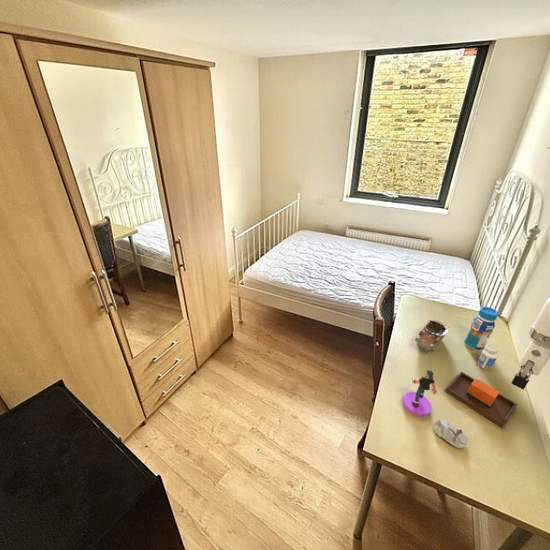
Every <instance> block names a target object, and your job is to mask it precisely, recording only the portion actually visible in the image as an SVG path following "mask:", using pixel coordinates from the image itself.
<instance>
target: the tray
mask: <svg viewBox="0 0 550 550" xmlns="http://www.w3.org/2000/svg"><path fill="white" fill-rule="evenodd" d="M475 379H476V378H474V377H472V376H470V375H469V374H466V373H465V372H463V371H460V372H459V373H458V374H457V376H456V377H455V378H454V379H453V380H452V381H451V382H450V383H449V384H448V385H447V386H446V388H445V390H444V392H445V393H447V394H448V395H450V396H451V397H453V398H454V399H456V400H458V401H459V402H460V403H462V404H463V405H465V406H467V407H468V408H470V409H471V410H473V411H475V412H476V413H477V414H479V415H480V416H481V417H483V418H485V419H486V420H488V421H490V422H491V423H493V424H494V425H496V426H497V427H499V428H500V429H504V427H505V426H506V424H507V422H508V421H509V419H510V417H511V416H512V414H513V412H514V411H515V409H516V408H517V405H518V403H516V402H514V401H513V400H511V399H509V398H507V397H506V396H504V395H503V394H501V393H499V394H498V396H497V397H496V399H495V401H494V402H493V404H492V405H491V407H490V408H488V407H486V406H485V405H483V404H482V403H480V402H478V401H477V400H475V399H474V398H472V397H470V396H469V395H467V394H466V393H467V391H468V389H469V387H470V385H471V384H472V382H473V381H474V380H475Z"/></svg>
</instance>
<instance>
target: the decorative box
mask: <svg viewBox="0 0 550 550" xmlns="http://www.w3.org/2000/svg"><path fill="white" fill-rule="evenodd" d="M449 328H450V326H448V325H447V324H445V323H444V322H442V321H440V320H436V319H433V318H431V319H427V320H426V321H425V323H424V325H423V328H422V329H421V330H419V333H418V334H417V335H416V337H415V339H414V341H415V342H416V346H417V347H418V348H420V350H421V351H426V352H431V351H435V350H436V348H437V347H438V345H439V344H440V343H441V342H442V340H444V338H445V337H446V335H447V333H448V332H449Z"/></svg>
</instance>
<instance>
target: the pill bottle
mask: <svg viewBox="0 0 550 550" xmlns="http://www.w3.org/2000/svg"><path fill="white" fill-rule="evenodd" d="M498 352H499V349H498V348H497V347H496V346H494V345H491V344H488V345H486V346H485V348H484V349H483V350H481V353H480V355H479V357H478V359H477V362H476V363H477V365H478V367H480V368H481V369H483V370H487V371H488V370H491V369H492V368H493V367H494V365H495V363H496V361H497V359H498Z"/></svg>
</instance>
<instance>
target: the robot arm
mask: <svg viewBox="0 0 550 550" xmlns="http://www.w3.org/2000/svg"><path fill="white" fill-rule="evenodd" d="M527 336H528V338H529V339H530V342H529V343H528V346H527V347H526V349H525V351H524V353H523V355H522V357H521V360H520V362H519V365H518V366H519V370H518V372H517V373H515V375H514V377H513V379H512V381H511V382H510V383H511V385H513V386H515V387H517V388H519V389H520V390H525V388H526V387H527V385H528V383H529V382H530V378H531V376H532V375H535V376H536V377H537V376H539V375H540V374H541V372H542V371H543V369H544V368H545V366H546V364H547V363H548V361H549V360H550V297H548V298H547V299H546V301H545V303H544V304H543V306H542V308H541V310H540V312H539V313H538V315H537V317H536V319H535V321H534V322H533V324H532V327H531V328H530V331H529V332H528V335H527Z"/></svg>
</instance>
